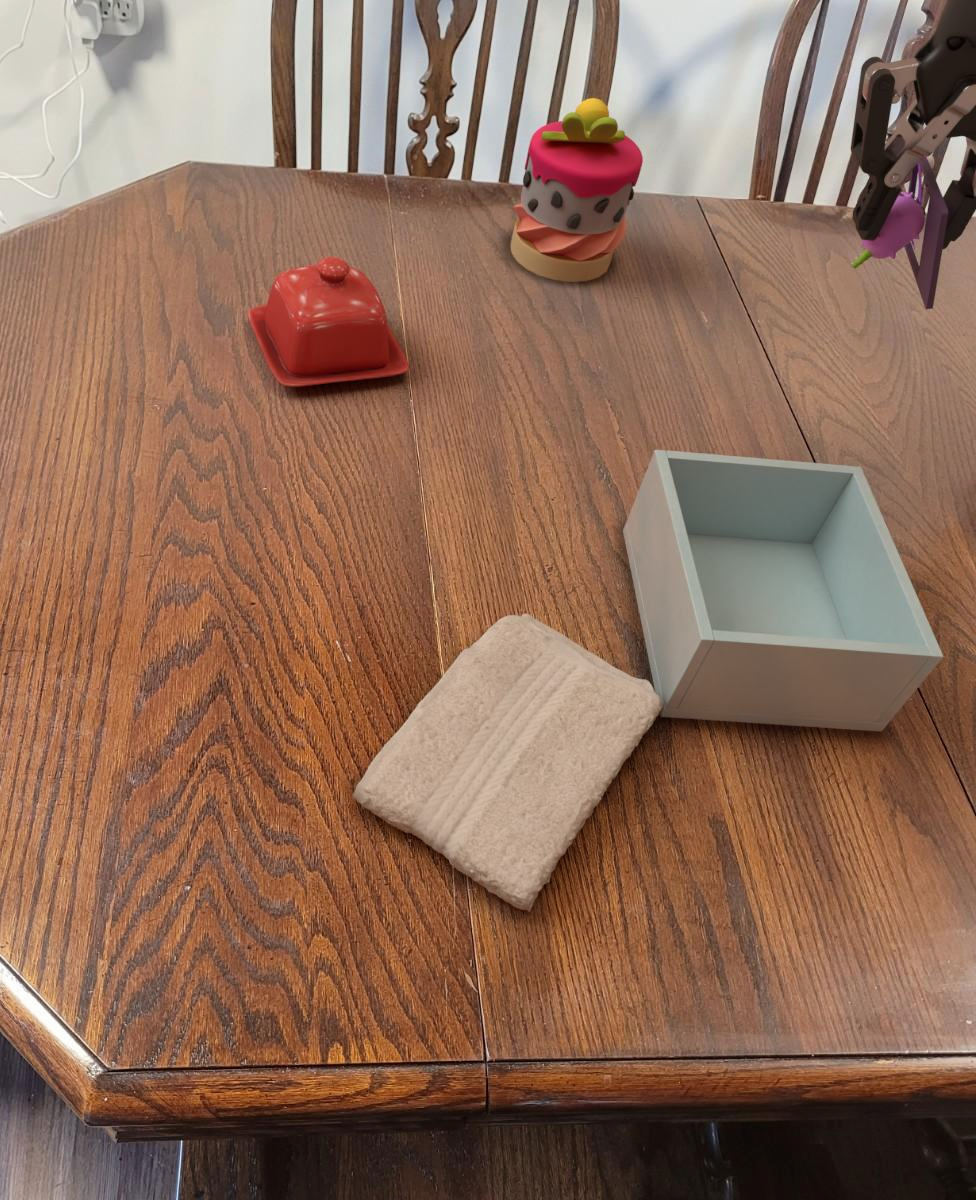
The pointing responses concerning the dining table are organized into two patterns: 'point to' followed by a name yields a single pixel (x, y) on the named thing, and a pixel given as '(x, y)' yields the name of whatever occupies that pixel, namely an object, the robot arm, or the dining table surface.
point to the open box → (773, 594)
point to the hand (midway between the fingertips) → (899, 237)
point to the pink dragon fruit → (914, 231)
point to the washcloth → (510, 755)
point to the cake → (575, 195)
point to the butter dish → (326, 327)
